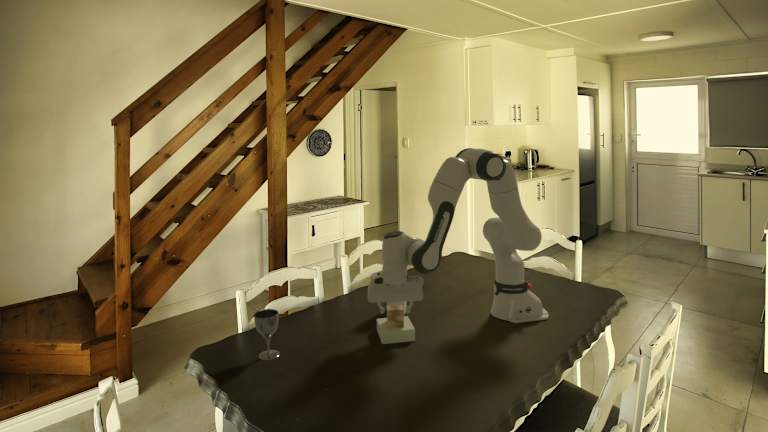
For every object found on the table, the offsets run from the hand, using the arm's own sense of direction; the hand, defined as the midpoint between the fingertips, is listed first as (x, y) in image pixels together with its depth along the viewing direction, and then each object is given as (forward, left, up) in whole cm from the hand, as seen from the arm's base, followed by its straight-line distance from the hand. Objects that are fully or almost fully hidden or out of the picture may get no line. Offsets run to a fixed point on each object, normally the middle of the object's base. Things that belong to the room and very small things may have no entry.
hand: (395, 312), depth 171 cm
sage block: (0, 0, -9) cm, 9 cm away
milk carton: (-2, -22, -9) cm, 24 cm away
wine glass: (+44, +12, -9) cm, 47 cm away
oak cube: (0, 0, -4) cm, 4 cm away
